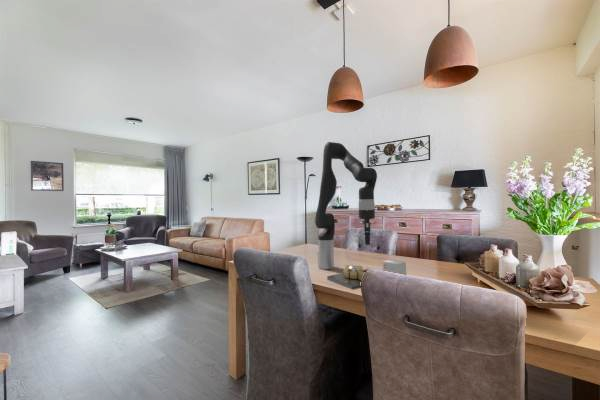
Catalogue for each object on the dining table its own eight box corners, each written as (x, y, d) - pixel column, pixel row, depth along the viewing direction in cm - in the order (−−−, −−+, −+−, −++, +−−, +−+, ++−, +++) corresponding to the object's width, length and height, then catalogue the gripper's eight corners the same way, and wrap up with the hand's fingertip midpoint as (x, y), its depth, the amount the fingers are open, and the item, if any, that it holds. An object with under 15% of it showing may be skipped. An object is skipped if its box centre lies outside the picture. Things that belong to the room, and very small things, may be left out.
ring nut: (339, 275, 136) (339, 266, 136) (354, 271, 141) (353, 263, 141) (365, 284, 120) (365, 274, 120) (380, 280, 126) (380, 271, 126)
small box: (407, 291, 115) (406, 261, 115) (399, 295, 111) (398, 264, 111) (390, 287, 121) (389, 259, 121) (382, 290, 117) (382, 261, 117)
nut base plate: (327, 279, 135) (327, 266, 135) (351, 273, 144) (351, 262, 144) (351, 288, 120) (350, 274, 120) (376, 282, 129) (376, 269, 129)
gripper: (358, 208, 134) (359, 241, 134) (358, 209, 120) (359, 245, 120) (374, 208, 132) (374, 241, 132) (375, 209, 118) (376, 246, 118)
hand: (367, 243), depth 126 cm, fingers open, 6 cm apart
